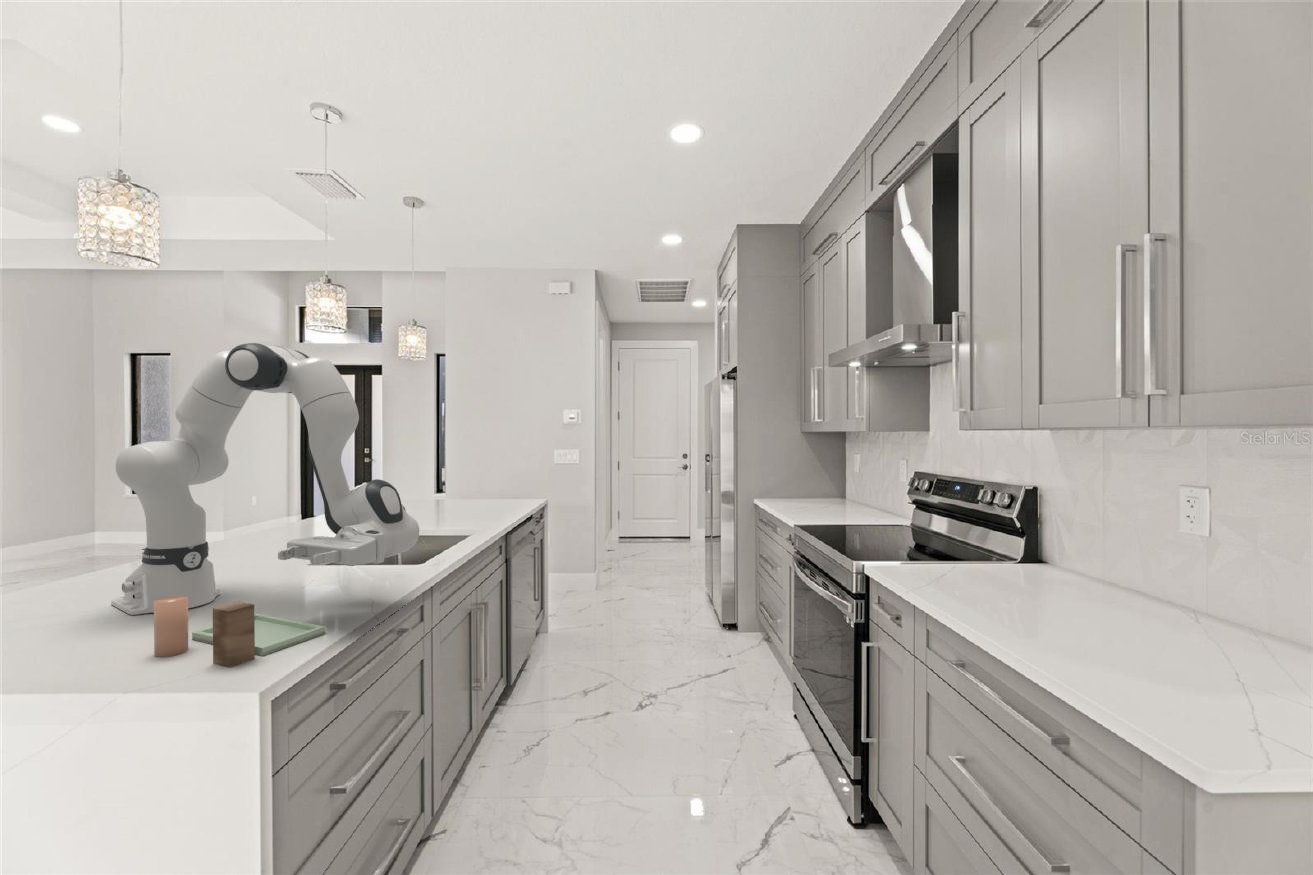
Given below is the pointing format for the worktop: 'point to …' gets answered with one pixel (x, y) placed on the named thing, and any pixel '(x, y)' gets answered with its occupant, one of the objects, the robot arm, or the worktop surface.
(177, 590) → the robot arm
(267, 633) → the tray
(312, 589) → the worktop surface
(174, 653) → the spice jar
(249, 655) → the walnut block
